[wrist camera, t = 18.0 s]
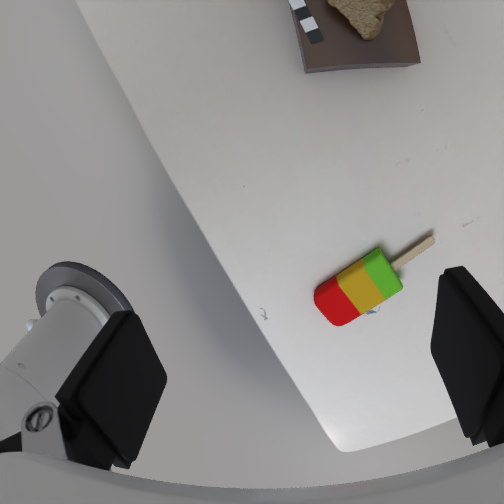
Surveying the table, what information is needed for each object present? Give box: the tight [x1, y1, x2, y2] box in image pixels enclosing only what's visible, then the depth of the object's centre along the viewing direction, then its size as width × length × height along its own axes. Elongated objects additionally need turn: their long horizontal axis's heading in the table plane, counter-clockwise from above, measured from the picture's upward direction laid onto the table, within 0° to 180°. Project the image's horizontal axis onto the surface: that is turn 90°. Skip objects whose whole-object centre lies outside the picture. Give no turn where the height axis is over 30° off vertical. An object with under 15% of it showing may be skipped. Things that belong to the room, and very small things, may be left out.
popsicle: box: [314, 236, 435, 326], centre depth 33 cm, size 6×15×2 cm, turn 131°
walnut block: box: [289, 0, 421, 73], centre depth 21 cm, size 10×11×4 cm
